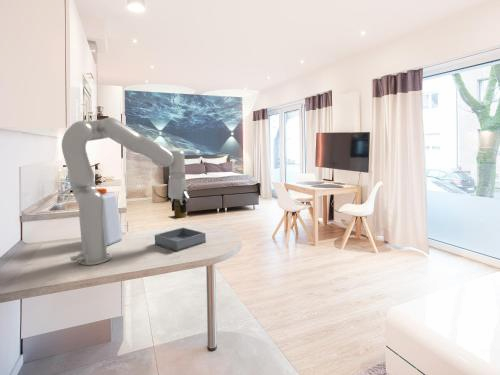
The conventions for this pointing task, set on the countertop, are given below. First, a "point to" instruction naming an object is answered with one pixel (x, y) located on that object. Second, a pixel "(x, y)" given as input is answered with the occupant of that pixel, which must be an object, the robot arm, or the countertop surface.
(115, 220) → the plastic bottle
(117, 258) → the countertop surface
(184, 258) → the countertop surface
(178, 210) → the condiment
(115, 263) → the countertop surface
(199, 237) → the open bin
